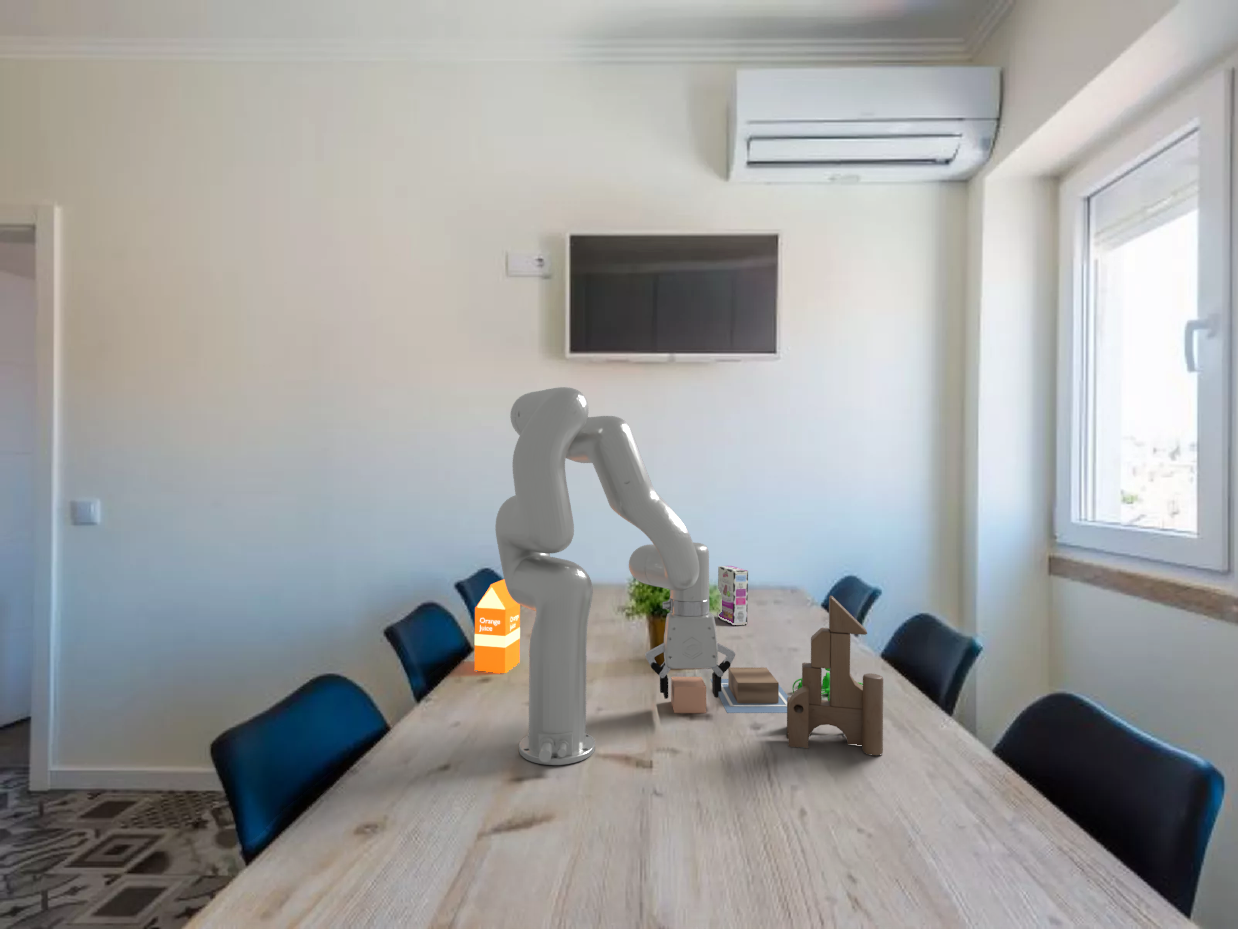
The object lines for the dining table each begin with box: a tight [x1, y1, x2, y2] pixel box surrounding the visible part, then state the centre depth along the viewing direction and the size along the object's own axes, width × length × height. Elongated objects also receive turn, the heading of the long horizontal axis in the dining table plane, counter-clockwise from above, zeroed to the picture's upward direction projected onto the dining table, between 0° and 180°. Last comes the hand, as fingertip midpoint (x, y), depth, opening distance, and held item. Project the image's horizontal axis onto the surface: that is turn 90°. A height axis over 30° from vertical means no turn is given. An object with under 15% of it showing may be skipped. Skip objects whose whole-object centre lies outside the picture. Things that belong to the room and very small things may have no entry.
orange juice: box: [474, 578, 521, 674], centre depth 158 cm, size 8×9×20 cm
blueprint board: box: [710, 678, 789, 714], centre depth 137 cm, size 20×14×1 cm
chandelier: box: [792, 668, 863, 701], centre depth 137 cm, size 15×15×7 cm
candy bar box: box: [717, 565, 749, 623], centre depth 205 cm, size 11×5×16 cm, turn 17°
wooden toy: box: [786, 595, 884, 756], centre depth 116 cm, size 16×7×25 cm, turn 75°
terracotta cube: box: [670, 676, 707, 714], centre depth 130 cm, size 6×6×6 cm
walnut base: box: [727, 667, 780, 703], centre depth 137 cm, size 10×8×4 cm
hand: (690, 695), depth 130 cm, fingers open, 9 cm apart
